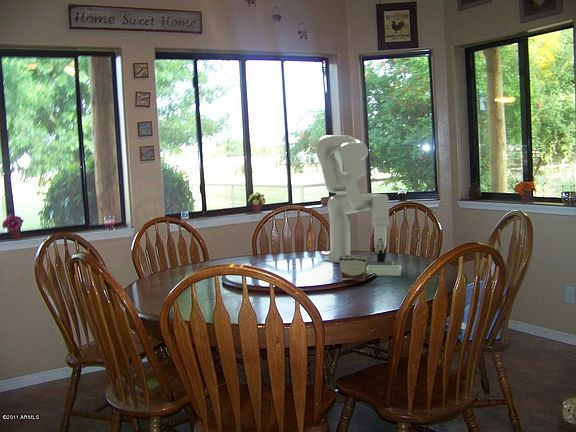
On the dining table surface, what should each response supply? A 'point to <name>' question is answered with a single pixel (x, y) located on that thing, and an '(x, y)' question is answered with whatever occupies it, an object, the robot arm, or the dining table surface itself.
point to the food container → (353, 266)
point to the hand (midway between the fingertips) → (381, 260)
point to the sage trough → (384, 269)
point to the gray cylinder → (387, 262)
